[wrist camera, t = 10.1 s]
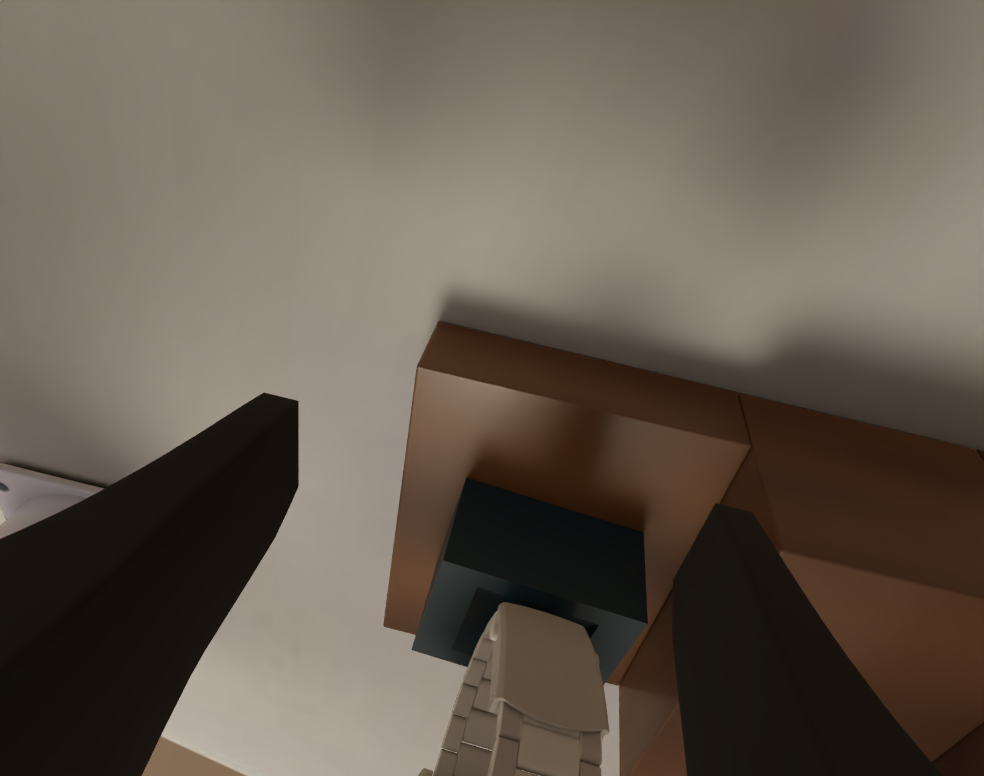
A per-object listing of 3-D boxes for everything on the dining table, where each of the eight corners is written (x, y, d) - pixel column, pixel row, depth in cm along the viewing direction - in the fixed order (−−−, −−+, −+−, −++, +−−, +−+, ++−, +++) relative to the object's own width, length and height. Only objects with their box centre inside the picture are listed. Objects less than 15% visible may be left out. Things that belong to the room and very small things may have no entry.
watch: (424, 599, 22) (297, 1032, 14) (480, 433, 18) (343, 928, 9) (575, 646, 23) (548, 1104, 14) (671, 494, 18) (727, 1041, 9)
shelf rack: (814, 676, 25) (908, 1020, 17) (401, 573, 26) (303, 861, 18) (1010, 456, 18) (1324, 861, 10) (438, 320, 19) (302, 604, 11)
